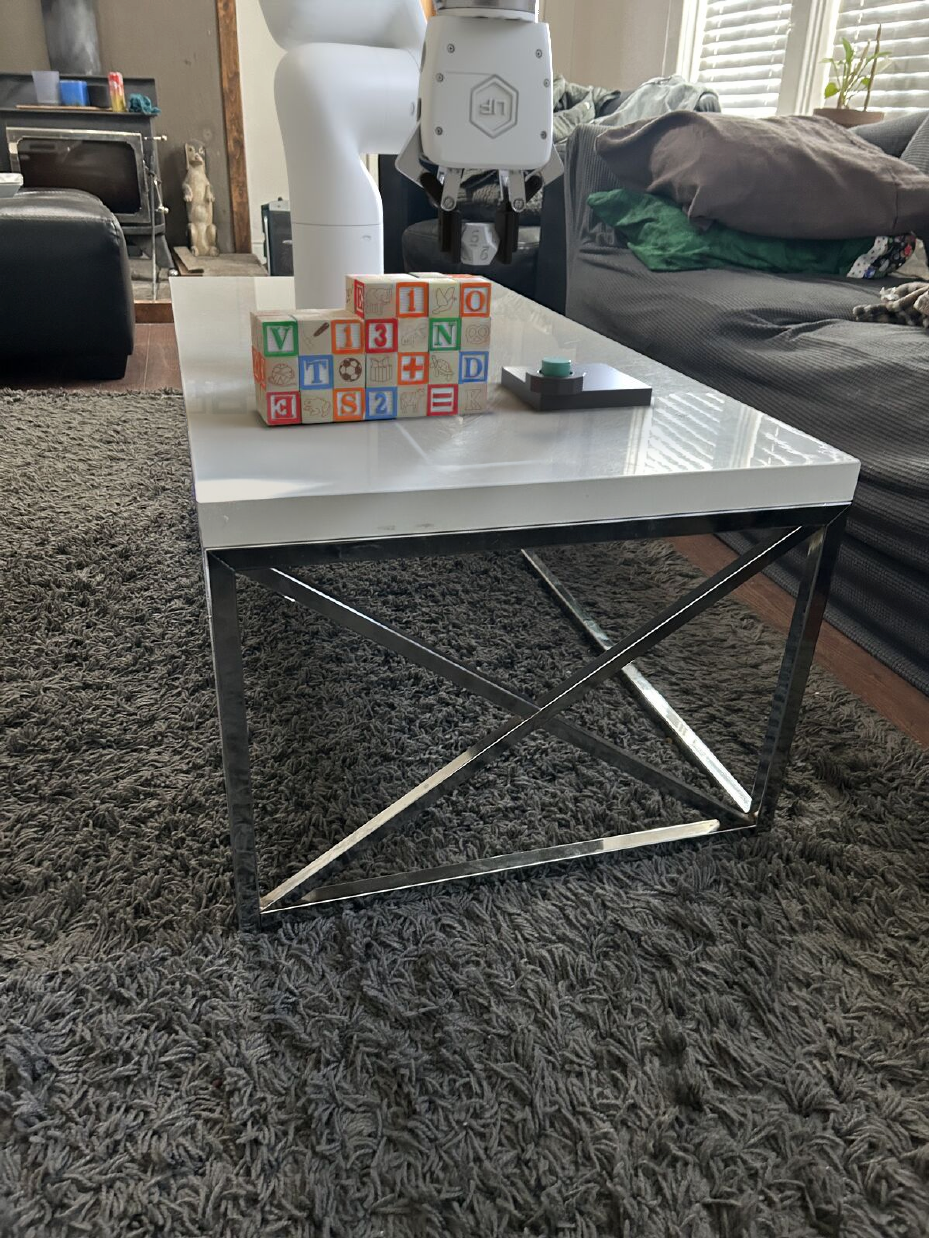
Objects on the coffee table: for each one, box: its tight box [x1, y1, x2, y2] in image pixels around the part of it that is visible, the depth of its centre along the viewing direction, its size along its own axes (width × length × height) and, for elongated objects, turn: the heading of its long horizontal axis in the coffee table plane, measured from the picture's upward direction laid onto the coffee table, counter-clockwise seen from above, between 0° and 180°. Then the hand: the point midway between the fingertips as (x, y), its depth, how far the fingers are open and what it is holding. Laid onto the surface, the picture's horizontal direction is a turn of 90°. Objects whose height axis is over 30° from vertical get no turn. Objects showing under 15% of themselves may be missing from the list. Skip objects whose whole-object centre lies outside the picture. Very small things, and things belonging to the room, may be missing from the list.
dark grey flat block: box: [500, 362, 653, 412], centre depth 99 cm, size 13×13×4 cm
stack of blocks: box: [249, 271, 492, 426], centre depth 89 cm, size 21×6×12 cm, turn 110°
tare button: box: [541, 356, 571, 376], centre depth 94 cm, size 3×3×2 cm
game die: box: [461, 222, 500, 266], centre depth 78 cm, size 4×4×3 cm
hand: (477, 260), depth 79 cm, fingers closed on game die, 3 cm apart
